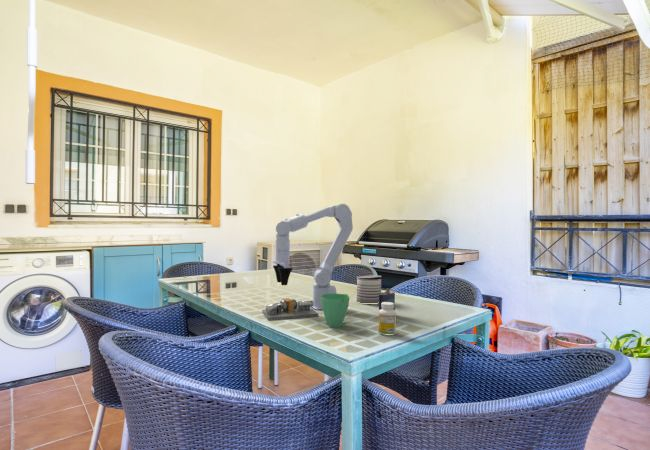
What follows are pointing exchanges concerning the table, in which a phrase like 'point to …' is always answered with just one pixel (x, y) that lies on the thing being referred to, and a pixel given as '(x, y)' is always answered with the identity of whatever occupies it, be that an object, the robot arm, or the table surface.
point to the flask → (387, 298)
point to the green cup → (335, 308)
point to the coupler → (288, 305)
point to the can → (368, 289)
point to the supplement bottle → (387, 318)
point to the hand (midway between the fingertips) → (282, 283)
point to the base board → (291, 314)
